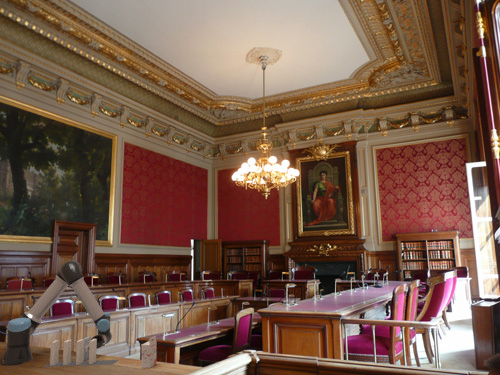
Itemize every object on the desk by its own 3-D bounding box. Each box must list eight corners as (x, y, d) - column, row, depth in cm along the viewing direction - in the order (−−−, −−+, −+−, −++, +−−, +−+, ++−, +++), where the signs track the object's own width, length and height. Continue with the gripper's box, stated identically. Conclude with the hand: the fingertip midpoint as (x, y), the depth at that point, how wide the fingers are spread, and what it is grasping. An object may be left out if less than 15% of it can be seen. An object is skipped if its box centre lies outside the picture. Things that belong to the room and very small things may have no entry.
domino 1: (49, 365, 226) (50, 342, 228) (55, 362, 232) (55, 340, 234) (53, 365, 226) (54, 342, 228) (58, 362, 232) (59, 340, 234)
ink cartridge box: (148, 363, 225) (148, 335, 227) (156, 364, 224) (156, 335, 226) (140, 368, 217) (141, 338, 219) (149, 368, 216) (149, 338, 218)
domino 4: (88, 364, 226) (89, 341, 228) (92, 361, 232) (93, 338, 234) (92, 364, 226) (92, 340, 228) (96, 361, 232) (96, 338, 234)
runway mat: (42, 367, 224) (42, 366, 224) (51, 363, 234) (51, 362, 234) (113, 365, 224) (113, 364, 224) (119, 360, 234) (119, 359, 234)
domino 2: (62, 365, 226) (63, 341, 228) (67, 362, 232) (68, 339, 234) (66, 365, 226) (67, 341, 228) (70, 362, 232) (71, 339, 234)
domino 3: (75, 364, 226) (76, 341, 228) (80, 361, 232) (81, 339, 234) (79, 364, 226) (79, 341, 228) (83, 361, 232) (84, 339, 234)
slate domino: (83, 361, 236) (83, 338, 238) (87, 358, 242) (87, 336, 244) (86, 361, 236) (86, 338, 238) (90, 358, 242) (90, 336, 244)
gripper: (110, 347, 257) (96, 356, 234) (86, 348, 257) (69, 357, 234) (110, 334, 258) (96, 342, 235) (86, 335, 258) (70, 343, 235)
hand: (83, 349), depth 235 cm, fingers closed on slate domino, 2 cm apart
